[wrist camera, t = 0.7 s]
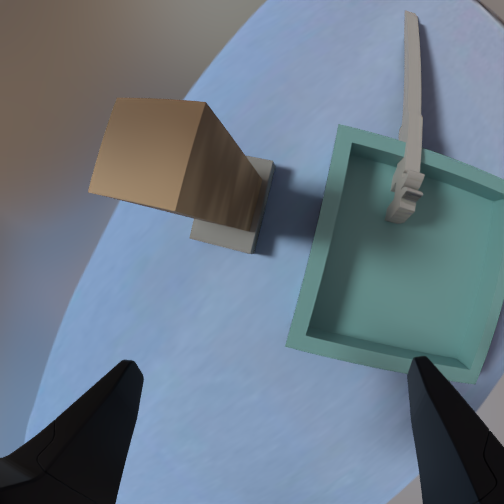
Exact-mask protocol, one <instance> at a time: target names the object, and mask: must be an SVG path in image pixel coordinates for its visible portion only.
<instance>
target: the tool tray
mask: <svg viewBox="0 0 504 504" xmlns="http://www.w3.org/2000/svg"><path fill="white" fill-rule="evenodd" d="M405 147H406V142H403V141H399V140H396V139H393V138H389V137H386V136H382V135H379V134H375V133H372V132H368V131H364V130H360V129H356V128H352V127H348V126H344V125H340V124H339V125H338V130H337V135H336V140H335V145H334V150H333V154H332V159H331V164H330V169H329V174H328V178H327V183H326V187H325V192H324V197H323V201H322V205H321V210H320V214H319V218H318V223H317V227H316V231H315V235H314V239H313V243H312V248H311V252H310V256H309V260H308V264H307V267H306V271H305V275H304V279H303V283H302V287H301V291H300V294H299V298H298V302H297V305H296V309H295V313H294V316H293V320H292V323H291V327H290V331H289V334H288V338H287V342H286V345H285V347H289V348H293V349H296V350H300V351H304V352H308V353H312V354H316V355H321V356H325V357H329V358H333V359H337V360H342V361H346V362H351V363H355V364H360V365H365V366H369V367H374V368H379V369H384V370H389V371H394V372H400V373H405V374H408V371H409V368H410V365H411V362H412V360H413V358H414V357H417V356H427V357H428V358H429V359H430V360H431V362H432V363H433V364H434V365H435V366H436V367H437V368H438V369H439V371H440V372H441V373H442V374H443V375H444V376H445V377H446V379H447V380H448V381H454V382H461V383H468V384H476V381H477V379H478V376H479V374H480V371H481V369H482V366H483V364H484V361H485V358H486V355H487V353H488V350H489V347H490V344H491V341H492V338H493V335H494V332H495V329H496V325H497V322H498V318H499V315H500V311H501V308H502V304H503V300H504V180H503V179H501V178H499V177H497V176H494V175H492V174H490V173H487V172H485V171H483V170H480V169H478V168H475V167H473V166H470V165H468V164H465V163H463V162H460V161H458V160H455V159H452V158H450V157H447V156H444V155H442V154H439V153H436V152H433V151H430V150H427V149H424V148H422V149H421V164H420V173H422V174H425V176H424V179H423V181H422V184H421V186H420V188H419V189H418V191H421V192H422V193H423V196H422V197H421V198H420V199H419V200H418V201H417V202H416V207H415V212H414V213H413V214H412V215H411V216H410V217H409V218H408V219H407V220H406V221H405V222H404V223H401V224H395V223H392V222H388V221H385V216H386V211H387V208H388V206H389V205H390V204H391V202H392V201H393V199H394V196H395V192H392V191H390V190H391V184H392V179H393V175H394V173H395V171H396V168H397V164H398V163H399V162H400V161H401V160H402V159H403V158H404V154H405Z"/></svg>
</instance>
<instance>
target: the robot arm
mask: <svg viewBox="0 0 504 504" xmlns="http://www.w3.org/2000/svg"><path fill="white" fill-rule="evenodd" d="M143 381H144V378H143V374H142V372H141V371H140V369H139V368H138V366H137V364H136V363H135V362H134V361H133V360H122V361H121V362H120V363H118V364H117V365H116V366H115V367H114V368H113V369H112V370H111V371H109V372H108V373H107V374H106V375H105V376H104V377H103V378H101V379H100V380H99V381H98V382H97V383H96V384H95V385H93V386H92V387H91V388H90V389H89V390H88V391H87V392H86V393H84V394H83V395H82V396H81V397H80V398H79V399H78V400H76V401H75V402H74V403H73V404H72V405H71V406H70V407H69V408H67V409H66V410H65V411H64V412H63V413H62V414H61V415H60V416H58V417H57V418H56V420H54V421H53V422H52V423H50V424H49V425H48V426H47V427H46V428H45V429H43V430H42V431H41V432H40V433H39V434H37V435H36V436H35V437H33V438H32V439H31V440H29V441H28V442H27V443H25V444H24V445H22V446H21V447H20V448H18V449H17V450H16V451H14V452H13V453H11V454H10V455H8V456H6V457H3V458H0V504H115V503H116V499H117V494H118V490H119V486H120V482H121V478H122V473H123V469H124V465H125V461H126V458H127V454H128V450H129V446H130V442H131V439H132V435H133V431H134V428H135V424H136V420H137V416H138V410H139V404H140V398H141V392H142V387H143ZM408 389H409V400H410V413H411V423H412V430H413V435H414V441H415V447H416V453H417V460H418V467H419V474H420V482H421V490H422V499H423V504H504V447H503V446H502V444H501V443H500V442H499V441H498V440H497V438H496V437H495V436H494V435H493V434H492V432H491V431H489V429H488V427H487V426H486V425H485V424H484V422H483V421H482V420H481V419H480V418H479V416H478V415H477V414H476V413H475V411H474V410H473V409H472V408H471V407H470V405H469V404H468V403H467V402H466V401H465V400H464V398H463V397H462V396H461V395H460V394H459V392H458V391H457V390H456V389H455V388H454V387H453V385H452V384H451V383H450V382H449V381H448V380H447V379H446V377H445V376H444V375H443V374H442V373H441V372H440V371H439V369H438V368H437V367H436V366H435V365H434V364H433V363H432V362H431V360H430V359H429V358H428V357H427V356H417V357H414V358H413V360H412V362H411V365H410V368H409V371H408Z"/></svg>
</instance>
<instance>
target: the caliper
mask: <svg viewBox="0 0 504 504" xmlns="http://www.w3.org/2000/svg"><path fill="white" fill-rule="evenodd" d="M404 43H405V75H404V102H403V119H402V126H401V128H400V130H399V141H403V142H406V147H405V154H404V158H403V159H402V160H401V161H400V162H399V163H398V164H397V168H396V171H395V173H394V175H393V179H392V184H391V190H390V191H392V192H395V196H394V199H393V201H392V202H391V204H390V205H389V206H388V208H387V211H386V216H385V221H388V222H392V223H395V224H401V223H404V222H405V221H406V220H407V219H408V218H409V217H410V216H411V215H412V214H413V213H414V212H415V207H416V202H417V201H418V200H419V199H420V198H421V197H422V196H423V193H422V192H421V191H418V189H419V188H420V186H421V184H422V181H423V179H424V176H425V174H422V173H420V164H421V149H422V126H423V116H422V115H421V59H420V41H419V28H418V18H417V16H416V14H415V13H412V12H408V11H405V27H404Z"/></svg>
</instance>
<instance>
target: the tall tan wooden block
mask: <svg viewBox="0 0 504 504" xmlns="http://www.w3.org/2000/svg"><path fill="white" fill-rule="evenodd" d="M274 170H275V165H274V162H273V161H271V160H265V159H260V158H255V157H250V156H245V154H244V153H243V152H242V150H241V149H240V148H239V146H238V145H237V143H236V142H235V141H234V139H233V138H232V137H231V135H230V134H229V133H228V131H227V130H226V128H225V127H224V126H223V124H222V123H221V122H220V120H219V119H218V118H217V116H216V115H215V114H214V112H213V111H212V110H211V108H210V107H209V106H208V104H207V103H206V102H198V101H186V100H172V99H152V98H117V99H116V102H115V104H114V107H113V110H112V113H111V116H110V119H109V122H108V125H107V128H106V131H105V134H104V137H103V140H102V143H101V146H100V150H99V153H98V157H97V160H96V164H95V167H94V171H93V175H92V178H91V182H90V186H89V191H88V192H89V193H94V194H98V195H102V196H106V197H110V198H114V199H118V200H122V201H126V202H130V203H134V204H138V205H143V206H147V207H151V208H155V209H159V210H163V211H167V212H170V213H174V214H178V215H182V216H186V217H190V218H194V221H193V225H192V230H191V234H190V239H194V240H198V241H202V242H206V243H210V244H213V245H217V246H221V247H225V248H229V249H233V250H237V251H241V252H245V253H249V254H254V252H255V248H256V244H257V240H258V236H259V232H260V227H261V223H262V219H263V215H264V211H265V207H266V203H267V199H268V195H269V191H270V186H271V182H272V178H273V174H274Z"/></svg>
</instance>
